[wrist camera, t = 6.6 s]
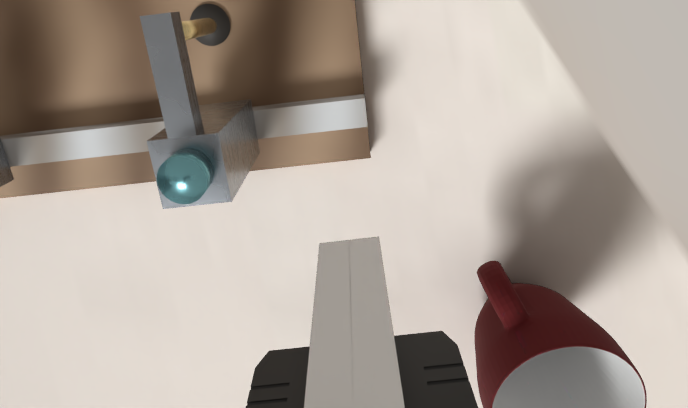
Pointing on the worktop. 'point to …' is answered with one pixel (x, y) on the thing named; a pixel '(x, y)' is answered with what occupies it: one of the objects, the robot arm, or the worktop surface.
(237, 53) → the brown wooden board
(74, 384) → the worktop surface
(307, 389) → the robot arm
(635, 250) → the worktop surface
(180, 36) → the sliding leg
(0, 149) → the fixed leg
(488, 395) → the mug
